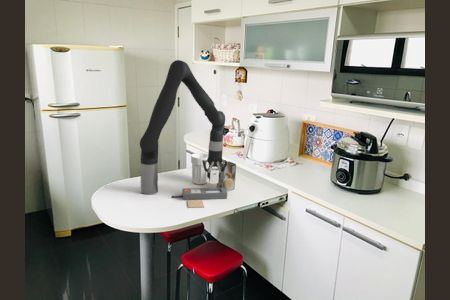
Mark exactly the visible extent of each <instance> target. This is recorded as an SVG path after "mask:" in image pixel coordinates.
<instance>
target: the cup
mask: <svg viewBox="0 0 450 300" xmlns="http://www.w3.org/2000/svg"><path fill="white" fill-rule="evenodd" d="M190 158H191V159H190V163H191V165H192V166H191V167H192V169H191V175H192V176H191V180H192V181H191V183H193V185H197V186H203V185H206V184H207V183H208V177H207V172H206V171H205V170H204V166H203V162H202V160H207V159H208V153H206V152H205V153H204V152H197V153H195V152H194V153H192V154H191V155H190ZM208 167H209V163H208V162H207V164H206V168H207V169H208Z"/></svg>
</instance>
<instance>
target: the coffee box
mask: <svg viewBox="0 0 450 300" xmlns="http://www.w3.org/2000/svg"><path fill="white" fill-rule="evenodd" d="M222 166H223V162H222V163H221V164H220V169H222ZM236 170H237V164H236V163H234V162H232V161H227V165H226V168H225V170H224V172H221V176H220V178H219V180H218V183H216V188H225V190H226V192H227V193H228V192H229V191H233V190H235V187H236V174H237V173H236Z"/></svg>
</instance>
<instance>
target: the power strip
mask: <svg viewBox="0 0 450 300" xmlns="http://www.w3.org/2000/svg"><path fill="white" fill-rule="evenodd" d="M181 190H182V192H181V195H171V198H172V199H173V198H178V199H179V198H182V201H187V200H202V201H203V200H204V201H207V200H227V199H228V191H227V192H226V190H225V188H217V187H197V188H196V187H191V188H190V187H189V188H187V187H186V188H182V189H181Z"/></svg>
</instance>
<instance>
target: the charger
mask: <svg viewBox="0 0 450 300" xmlns="http://www.w3.org/2000/svg"><path fill="white" fill-rule="evenodd" d="M218 180H219V170H218V168H217V167H212V169H211V171H210V179H208V182H209V184H217V183H218Z"/></svg>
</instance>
